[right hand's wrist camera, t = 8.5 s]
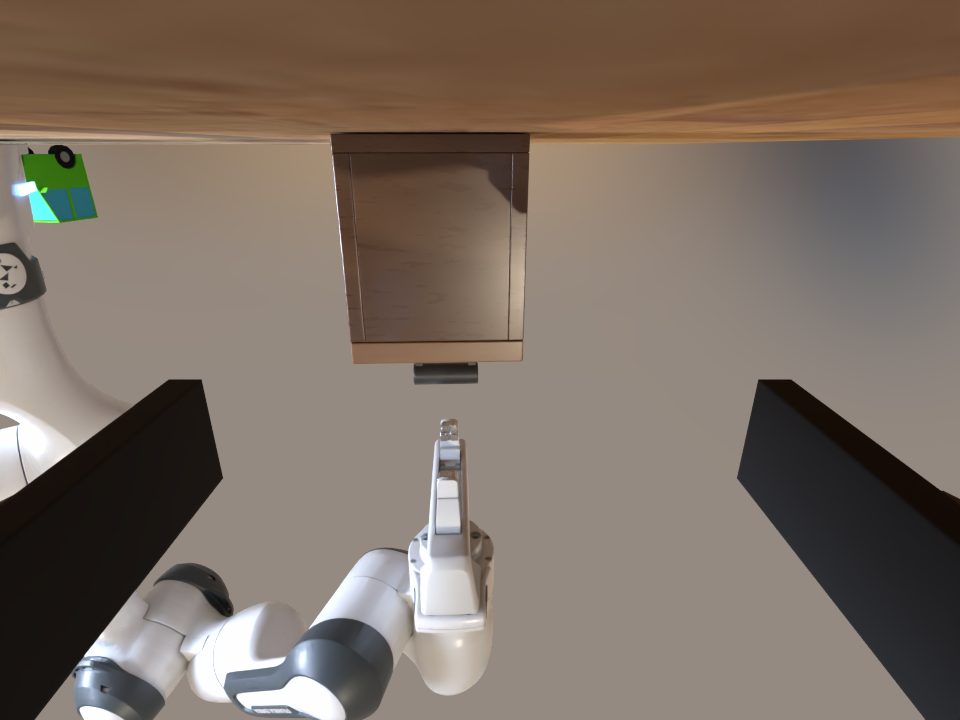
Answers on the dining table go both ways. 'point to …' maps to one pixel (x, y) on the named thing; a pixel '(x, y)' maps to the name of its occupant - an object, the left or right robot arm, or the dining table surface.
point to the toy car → (58, 186)
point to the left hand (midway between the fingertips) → (448, 446)
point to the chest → (433, 235)
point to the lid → (439, 357)
